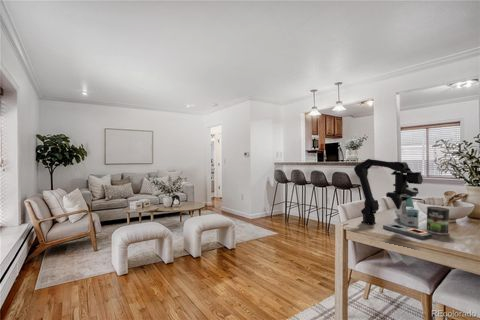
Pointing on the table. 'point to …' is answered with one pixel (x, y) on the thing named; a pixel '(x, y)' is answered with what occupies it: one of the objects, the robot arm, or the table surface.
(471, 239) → the table surface
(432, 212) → the coffee can
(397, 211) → the steel peg
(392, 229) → the rail
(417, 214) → the light bulb box
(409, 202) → the vase
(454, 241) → the table surface
